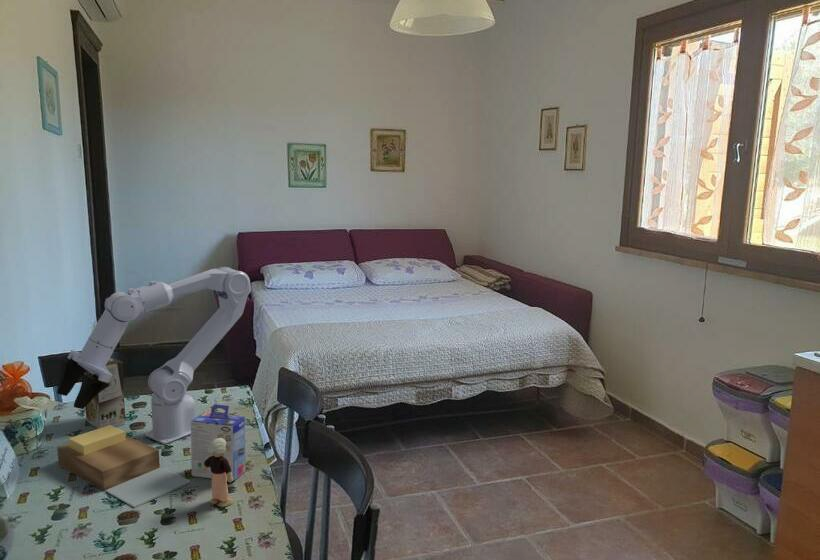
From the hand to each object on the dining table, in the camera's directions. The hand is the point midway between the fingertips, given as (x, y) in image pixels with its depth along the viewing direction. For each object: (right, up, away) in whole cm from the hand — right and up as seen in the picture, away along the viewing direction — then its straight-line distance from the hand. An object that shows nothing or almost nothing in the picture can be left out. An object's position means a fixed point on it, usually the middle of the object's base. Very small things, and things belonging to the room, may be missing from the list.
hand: (69, 401), depth 129 cm
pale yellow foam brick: (+6, -9, 0) cm, 11 cm away
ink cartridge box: (+33, -15, -3) cm, 37 cm away
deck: (+9, -14, -2) cm, 16 cm away
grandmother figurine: (+37, -16, -14) cm, 43 cm away
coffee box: (-3, -10, +21) cm, 23 cm away
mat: (+21, -15, -10) cm, 28 cm away
